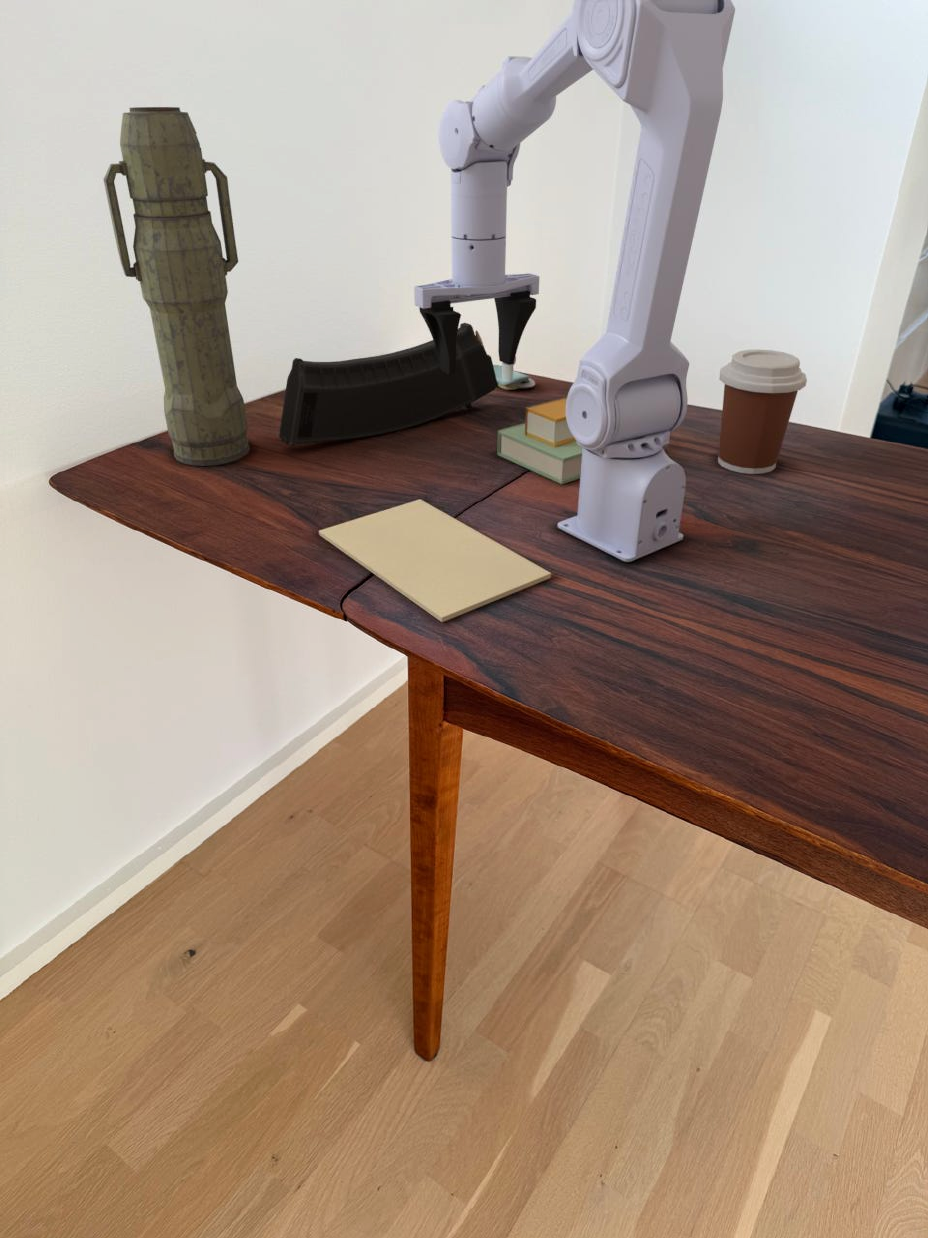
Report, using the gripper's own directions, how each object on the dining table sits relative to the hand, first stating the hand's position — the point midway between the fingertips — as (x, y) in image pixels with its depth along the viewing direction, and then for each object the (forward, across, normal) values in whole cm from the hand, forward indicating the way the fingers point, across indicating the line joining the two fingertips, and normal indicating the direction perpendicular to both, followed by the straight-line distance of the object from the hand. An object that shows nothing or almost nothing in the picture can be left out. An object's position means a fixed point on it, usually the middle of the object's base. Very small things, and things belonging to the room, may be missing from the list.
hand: (477, 367), depth 96 cm
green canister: (+10, +27, -15) cm, 33 cm away
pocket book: (+7, -10, +7) cm, 14 cm away
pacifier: (+10, -17, -20) cm, 28 cm away
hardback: (+10, -10, +7) cm, 16 cm away
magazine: (+10, +5, -12) cm, 17 cm away
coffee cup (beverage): (+10, -25, +19) cm, 33 cm away
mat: (+10, +17, +21) cm, 29 cm away
